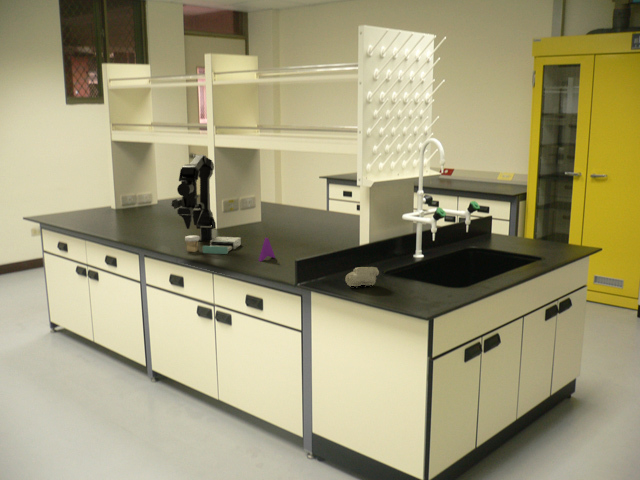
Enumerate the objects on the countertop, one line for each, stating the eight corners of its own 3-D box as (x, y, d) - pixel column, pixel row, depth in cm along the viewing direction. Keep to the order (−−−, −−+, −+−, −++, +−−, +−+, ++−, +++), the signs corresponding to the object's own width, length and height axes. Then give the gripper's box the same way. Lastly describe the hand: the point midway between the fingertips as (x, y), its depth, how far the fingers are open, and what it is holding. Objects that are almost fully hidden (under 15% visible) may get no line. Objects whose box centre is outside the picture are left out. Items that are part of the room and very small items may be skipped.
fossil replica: (340, 286, 225) (357, 294, 217) (340, 265, 222) (357, 273, 215) (365, 278, 232) (382, 286, 224) (365, 258, 229) (383, 265, 221)
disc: (188, 238, 283) (188, 235, 283) (201, 239, 282) (201, 235, 282) (183, 241, 277) (182, 237, 277) (196, 241, 276) (196, 238, 276)
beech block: (190, 249, 283) (189, 239, 282) (198, 249, 282) (198, 239, 281) (187, 251, 279) (186, 240, 278) (195, 251, 278) (194, 241, 277)
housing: (217, 243, 296) (216, 236, 295) (240, 244, 294) (240, 237, 293) (210, 248, 286) (210, 240, 286) (234, 249, 284) (234, 241, 284)
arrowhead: (265, 268, 266) (276, 250, 270) (268, 269, 265) (279, 251, 269) (254, 256, 259) (265, 237, 263) (256, 256, 258) (268, 237, 262)
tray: (210, 248, 286) (210, 241, 285) (233, 249, 284) (233, 242, 283) (202, 252, 276) (202, 246, 276) (227, 254, 274) (227, 247, 274)
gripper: (181, 190, 285) (182, 222, 289) (165, 195, 267) (167, 230, 271) (204, 190, 284) (205, 223, 287) (189, 196, 266) (190, 231, 269)
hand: (191, 226), depth 278 cm, fingers open, 9 cm apart
